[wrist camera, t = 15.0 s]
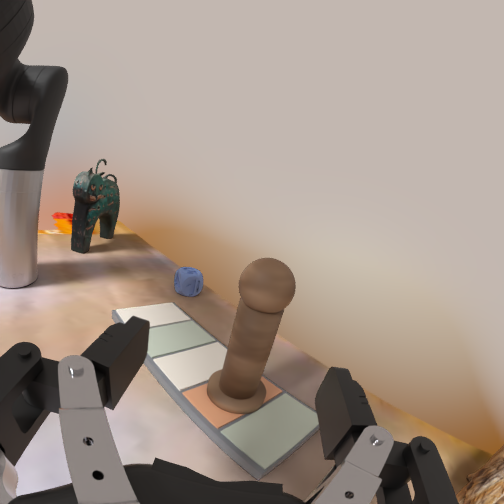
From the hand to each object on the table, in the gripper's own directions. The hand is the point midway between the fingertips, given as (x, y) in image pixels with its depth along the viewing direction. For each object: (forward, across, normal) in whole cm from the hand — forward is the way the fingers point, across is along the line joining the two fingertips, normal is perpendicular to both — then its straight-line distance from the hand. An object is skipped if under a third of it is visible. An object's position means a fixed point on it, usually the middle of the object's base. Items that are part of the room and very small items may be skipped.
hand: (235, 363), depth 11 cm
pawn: (+10, -2, +12) cm, 16 cm away
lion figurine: (-4, -26, +13) cm, 29 cm away
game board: (+14, +3, +13) cm, 19 cm away
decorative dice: (+34, +10, +14) cm, 38 cm away
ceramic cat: (+45, +37, +14) cm, 60 cm away
